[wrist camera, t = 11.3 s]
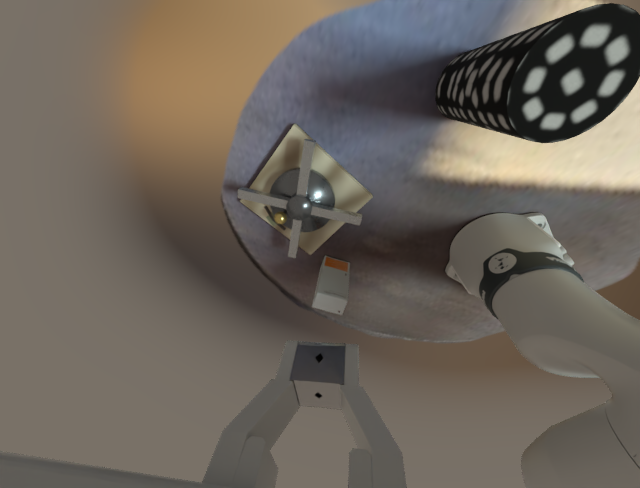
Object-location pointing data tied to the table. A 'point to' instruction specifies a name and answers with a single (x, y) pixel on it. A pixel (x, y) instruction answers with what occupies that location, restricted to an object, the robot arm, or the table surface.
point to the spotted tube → (547, 76)
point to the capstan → (301, 199)
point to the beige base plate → (290, 155)
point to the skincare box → (332, 286)
